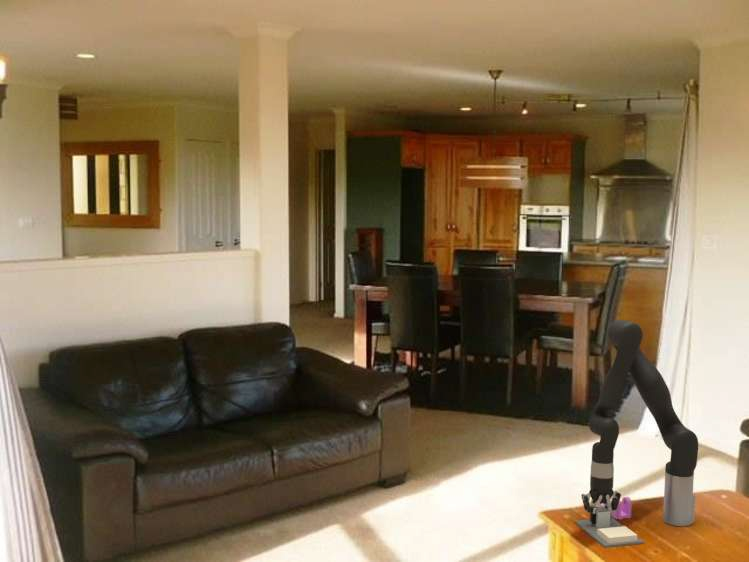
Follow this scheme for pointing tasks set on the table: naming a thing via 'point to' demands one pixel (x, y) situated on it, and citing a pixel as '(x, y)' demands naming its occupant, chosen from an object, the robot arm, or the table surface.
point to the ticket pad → (594, 532)
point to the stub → (602, 517)
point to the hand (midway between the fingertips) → (600, 522)
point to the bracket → (622, 509)
